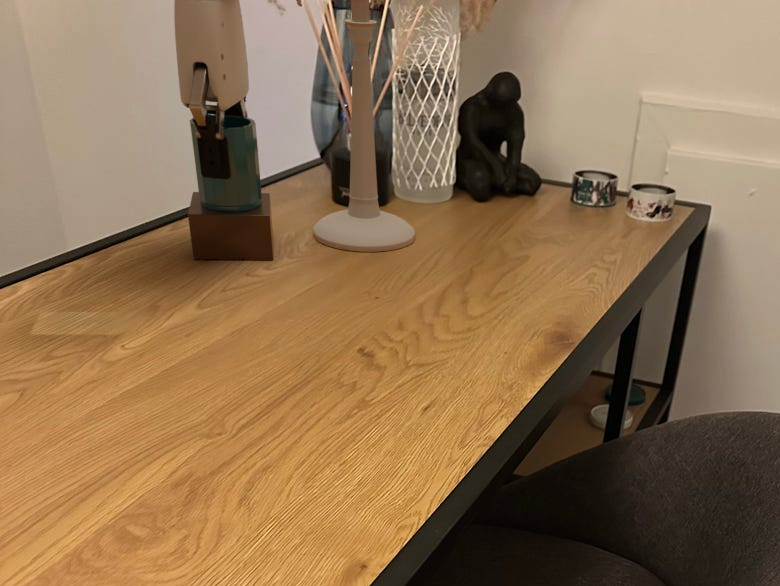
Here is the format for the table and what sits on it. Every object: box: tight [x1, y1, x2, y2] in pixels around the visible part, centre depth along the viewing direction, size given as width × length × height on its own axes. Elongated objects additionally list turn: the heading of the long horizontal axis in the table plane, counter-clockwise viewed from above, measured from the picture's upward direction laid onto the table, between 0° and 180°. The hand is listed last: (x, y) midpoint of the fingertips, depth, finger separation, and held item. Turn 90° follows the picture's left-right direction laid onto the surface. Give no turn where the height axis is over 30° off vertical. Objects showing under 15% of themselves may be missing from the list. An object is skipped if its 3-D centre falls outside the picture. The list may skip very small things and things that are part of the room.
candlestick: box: [312, 0, 416, 253], centre depth 109 cm, size 13×13×30 cm
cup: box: [189, 114, 262, 212], centre depth 106 cm, size 7×7×8 cm
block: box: [187, 191, 274, 261], centre depth 110 cm, size 9×9×5 cm
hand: (227, 167), depth 106 cm, fingers closed on cup, 7 cm apart
